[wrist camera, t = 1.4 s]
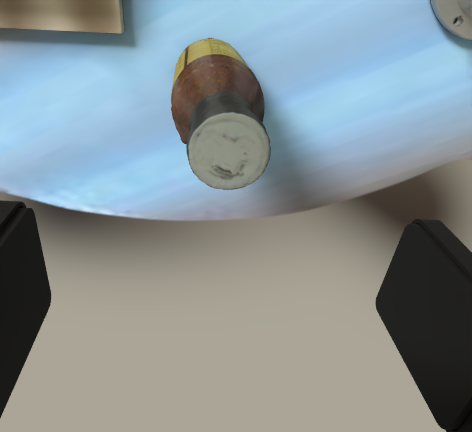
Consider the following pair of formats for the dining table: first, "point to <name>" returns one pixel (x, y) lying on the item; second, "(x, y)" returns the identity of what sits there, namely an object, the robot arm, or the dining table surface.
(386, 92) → the dining table surface
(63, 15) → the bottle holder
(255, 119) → the sauce bottle
